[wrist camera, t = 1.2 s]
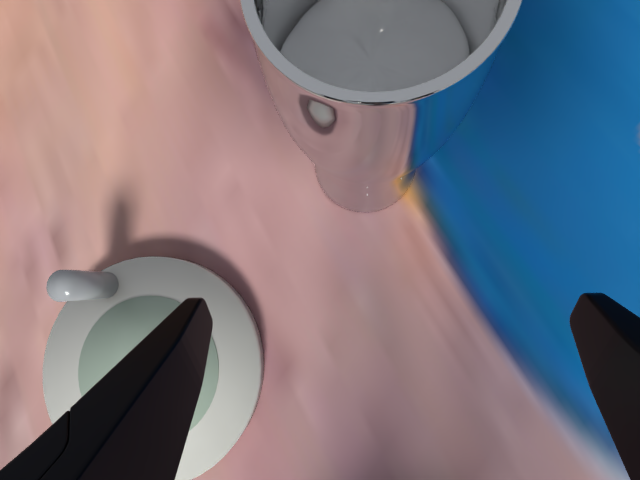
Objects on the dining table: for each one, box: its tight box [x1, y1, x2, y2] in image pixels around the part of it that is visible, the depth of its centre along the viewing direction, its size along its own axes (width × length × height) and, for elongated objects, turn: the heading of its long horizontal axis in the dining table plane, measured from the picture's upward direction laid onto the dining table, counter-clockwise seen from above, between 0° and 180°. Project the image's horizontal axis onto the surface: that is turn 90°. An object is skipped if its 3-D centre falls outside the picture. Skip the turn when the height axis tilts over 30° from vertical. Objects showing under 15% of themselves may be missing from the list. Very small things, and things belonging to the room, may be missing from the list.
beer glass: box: [240, 0, 523, 213], centre depth 16 cm, size 7×7×15 cm
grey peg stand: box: [43, 256, 264, 480], centre depth 21 cm, size 13×13×5 cm
